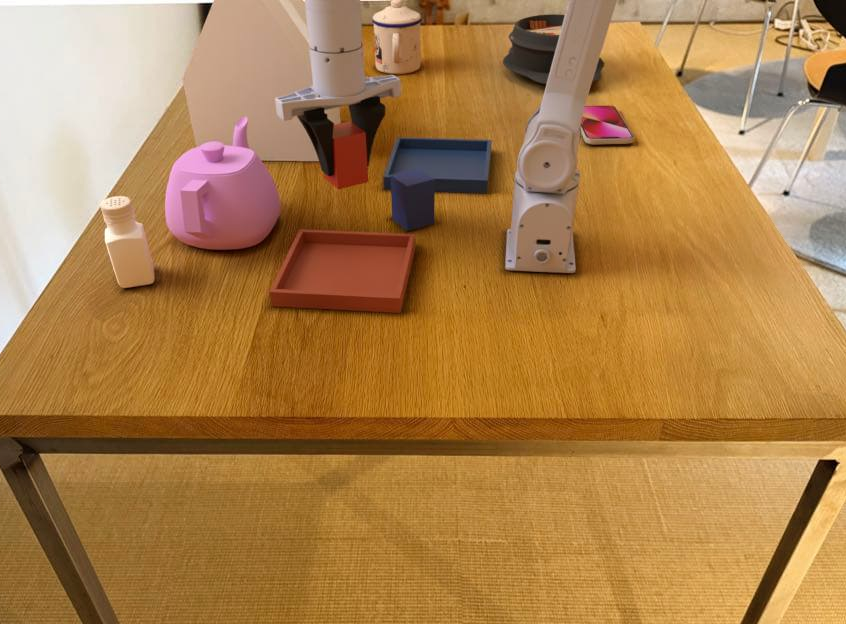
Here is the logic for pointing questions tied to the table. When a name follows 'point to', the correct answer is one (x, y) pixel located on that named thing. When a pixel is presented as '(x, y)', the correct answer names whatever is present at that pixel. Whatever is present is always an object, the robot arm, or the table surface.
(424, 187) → the blue block
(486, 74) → the table surface
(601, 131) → the smartphone
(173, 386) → the table surface
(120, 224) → the pepper shaker
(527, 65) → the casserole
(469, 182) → the blue tray
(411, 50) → the teacup with lid
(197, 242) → the teapot
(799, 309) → the table surface
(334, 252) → the red tray
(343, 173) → the red block
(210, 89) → the milk carton
